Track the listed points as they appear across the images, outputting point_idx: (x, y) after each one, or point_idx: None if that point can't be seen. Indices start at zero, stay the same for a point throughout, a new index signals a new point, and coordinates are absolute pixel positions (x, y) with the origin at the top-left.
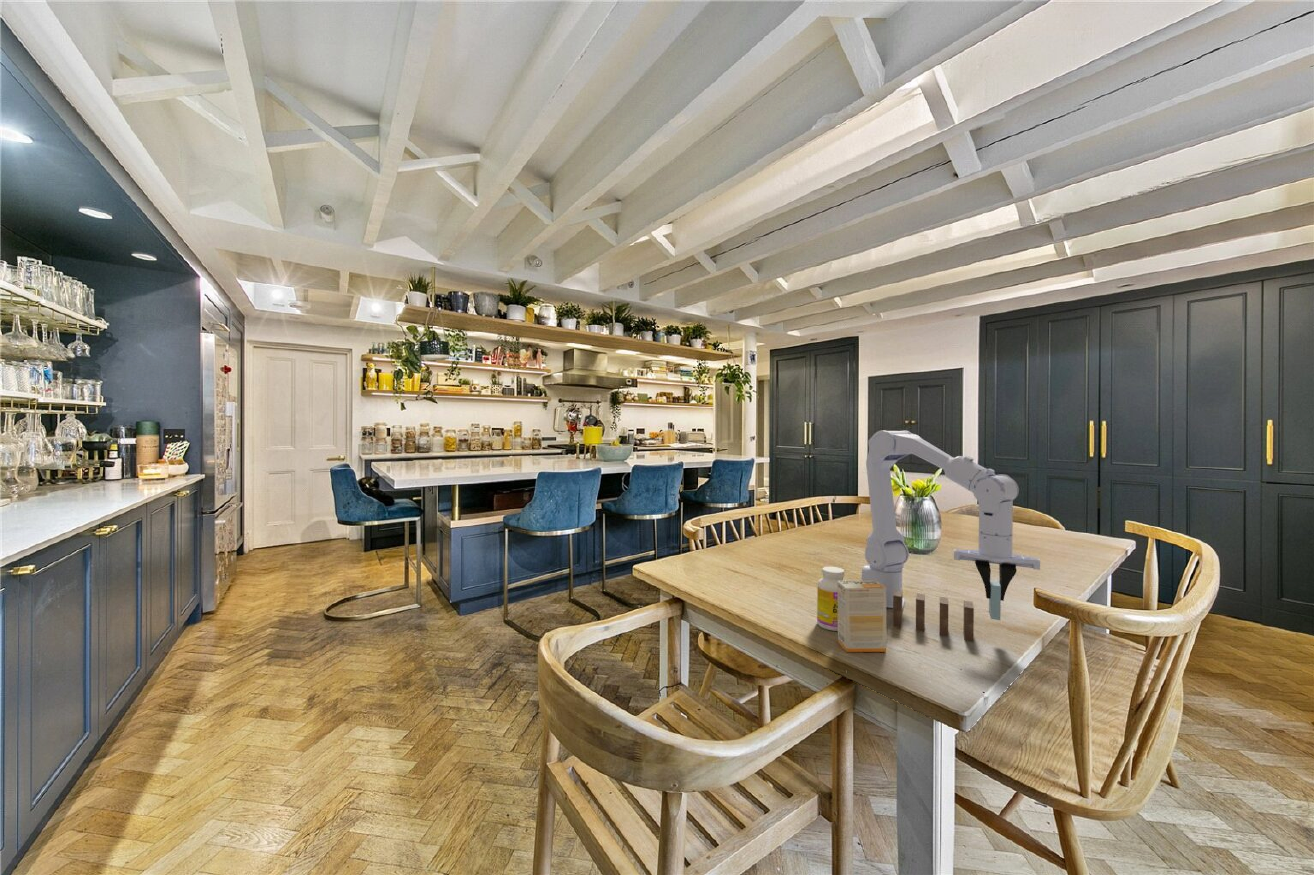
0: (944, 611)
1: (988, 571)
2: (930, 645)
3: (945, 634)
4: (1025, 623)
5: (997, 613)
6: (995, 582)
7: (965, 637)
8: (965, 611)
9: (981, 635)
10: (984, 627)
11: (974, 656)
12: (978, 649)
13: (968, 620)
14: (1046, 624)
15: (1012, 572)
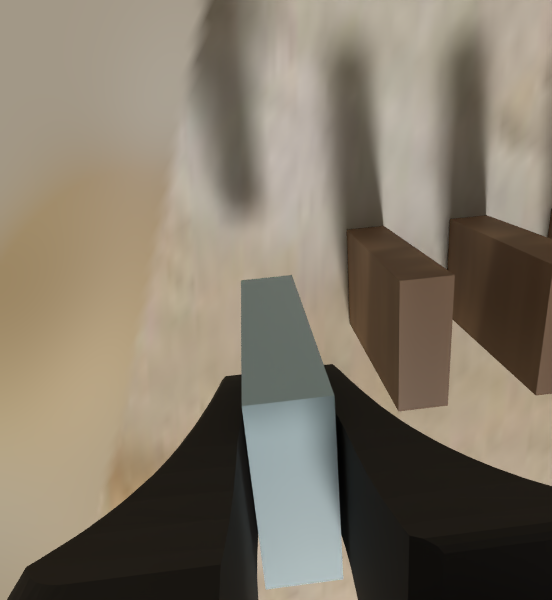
0: (541, 247)
1: (422, 508)
2: (539, 39)
3: (465, 219)
4: None
5: (258, 291)
6: (291, 510)
7: (383, 228)
8: (436, 267)
9: (314, 328)
10: None
11: (346, 25)
12: (327, 140)
13: (400, 252)
14: None
15: (52, 577)
